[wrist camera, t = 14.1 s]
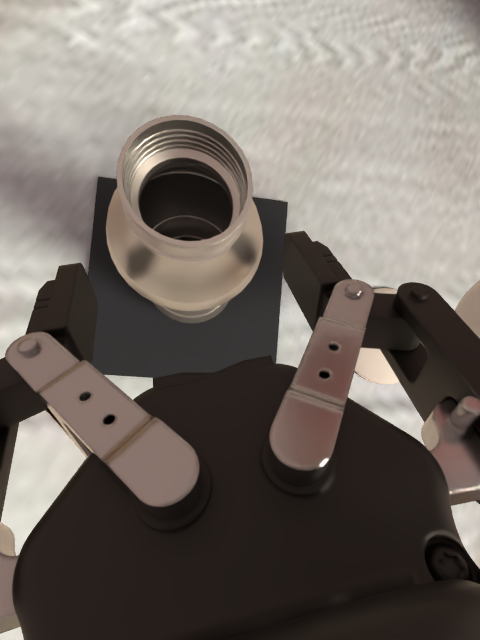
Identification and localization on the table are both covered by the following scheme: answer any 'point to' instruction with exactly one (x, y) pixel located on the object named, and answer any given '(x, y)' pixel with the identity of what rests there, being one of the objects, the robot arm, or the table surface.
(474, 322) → the wineglass
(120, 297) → the felt mat
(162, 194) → the plastic bottle
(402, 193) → the table surface
